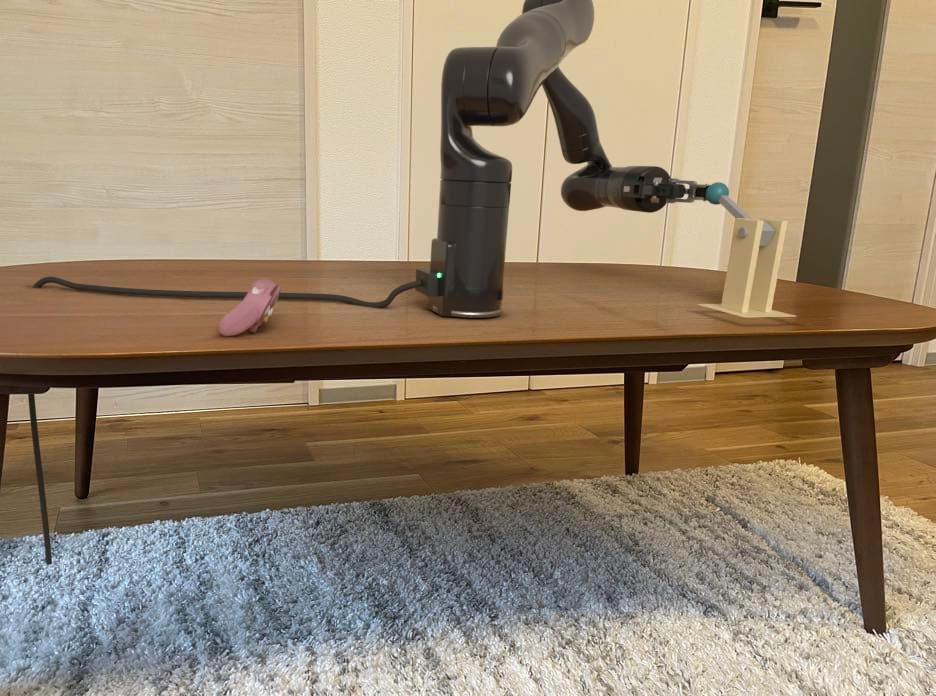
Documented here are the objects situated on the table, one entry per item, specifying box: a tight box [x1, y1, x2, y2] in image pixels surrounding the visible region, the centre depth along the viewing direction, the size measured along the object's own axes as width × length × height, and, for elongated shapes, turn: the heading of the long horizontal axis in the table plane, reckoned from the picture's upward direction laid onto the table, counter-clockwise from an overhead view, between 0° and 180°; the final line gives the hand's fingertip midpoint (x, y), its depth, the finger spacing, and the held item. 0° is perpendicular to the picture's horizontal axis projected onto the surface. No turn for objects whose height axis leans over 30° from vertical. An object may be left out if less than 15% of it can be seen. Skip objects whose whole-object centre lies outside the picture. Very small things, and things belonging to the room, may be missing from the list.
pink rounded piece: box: [217, 278, 282, 337], centre depth 89 cm, size 10×5×7 cm, turn 179°
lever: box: [706, 181, 775, 246], centre depth 111 cm, size 14×3×3 cm, turn 16°
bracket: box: [696, 218, 796, 318], centre depth 109 cm, size 10×9×14 cm
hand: (699, 192), depth 119 cm, fingers open, 8 cm apart
